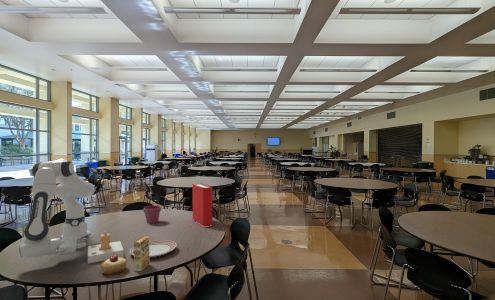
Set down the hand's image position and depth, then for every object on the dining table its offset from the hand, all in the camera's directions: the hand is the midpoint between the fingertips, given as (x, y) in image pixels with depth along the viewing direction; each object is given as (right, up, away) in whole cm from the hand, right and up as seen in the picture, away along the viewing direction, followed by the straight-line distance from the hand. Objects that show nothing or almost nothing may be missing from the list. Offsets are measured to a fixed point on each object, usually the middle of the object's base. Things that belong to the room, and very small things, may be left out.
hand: (86, 241), depth 158 cm
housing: (+9, -10, +5) cm, 14 cm away
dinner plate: (+36, -10, +10) cm, 39 cm away
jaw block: (+9, -9, +5) cm, 13 cm away
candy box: (+38, -10, -13) cm, 41 cm away
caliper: (-19, -10, +11) cm, 24 cm away
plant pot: (+12, -9, +77) cm, 79 cm away
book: (+56, -9, +73) cm, 92 cm away
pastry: (+24, -10, -16) cm, 30 cm away
